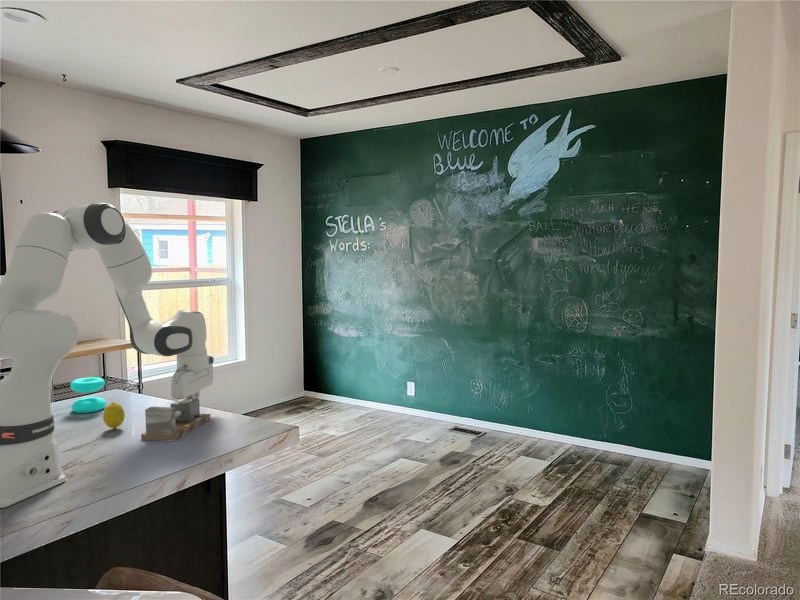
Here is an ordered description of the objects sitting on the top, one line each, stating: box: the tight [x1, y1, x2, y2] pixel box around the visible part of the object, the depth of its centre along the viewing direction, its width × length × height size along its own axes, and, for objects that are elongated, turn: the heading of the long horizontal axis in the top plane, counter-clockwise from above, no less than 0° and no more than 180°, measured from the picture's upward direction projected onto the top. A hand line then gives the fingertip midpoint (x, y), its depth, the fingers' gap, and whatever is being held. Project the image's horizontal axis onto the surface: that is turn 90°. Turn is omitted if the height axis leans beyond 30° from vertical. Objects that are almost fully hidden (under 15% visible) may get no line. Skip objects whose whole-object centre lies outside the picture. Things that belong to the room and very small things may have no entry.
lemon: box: [102, 401, 125, 430], centre depth 169 cm, size 6×6×8 cm
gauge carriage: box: [170, 398, 201, 421], centre depth 173 cm, size 9×8×5 cm
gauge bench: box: [140, 406, 211, 442], centre depth 170 cm, size 21×10×8 cm, turn 172°
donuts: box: [69, 376, 107, 414], centre depth 190 cm, size 10×10×10 cm
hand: (193, 406), depth 180 cm, fingers closed
